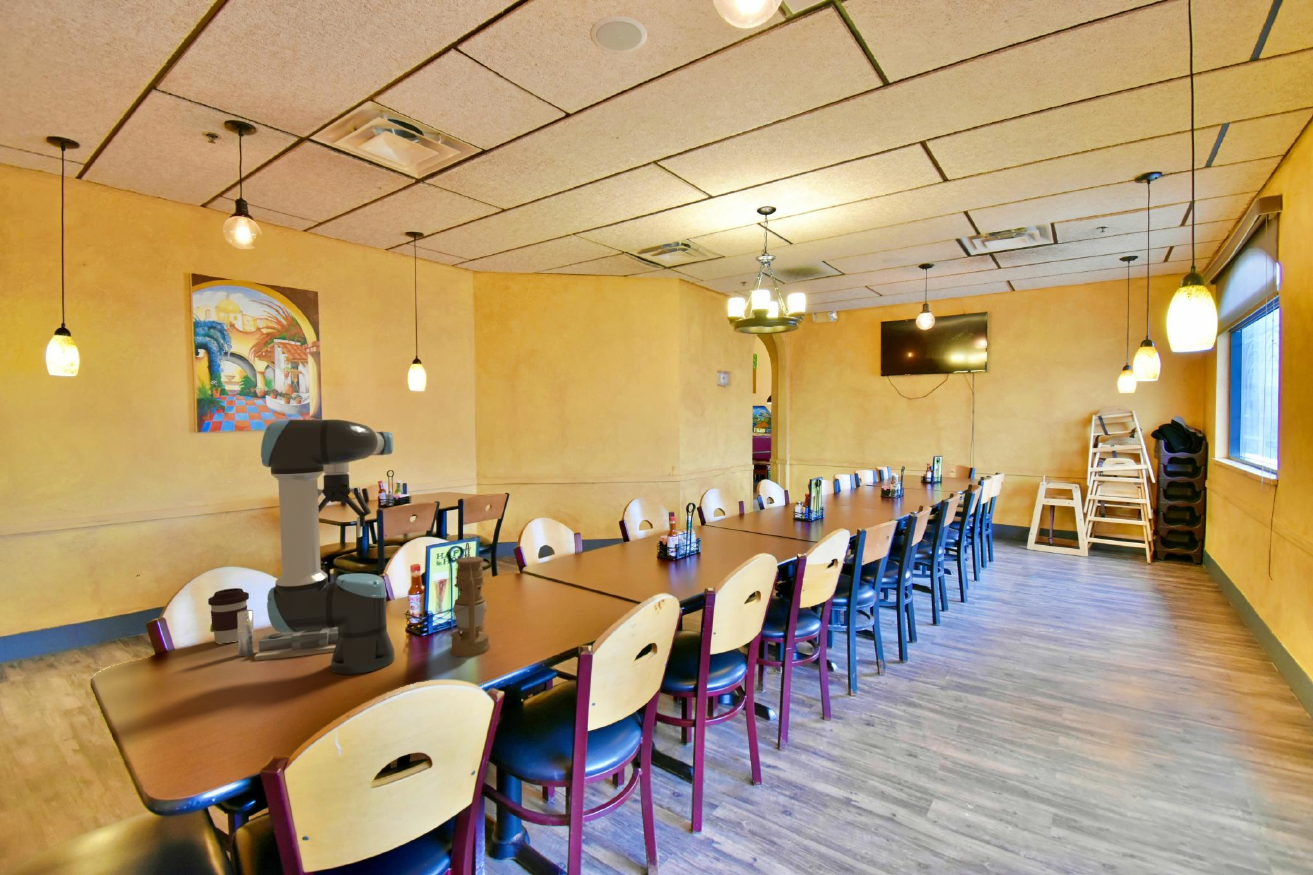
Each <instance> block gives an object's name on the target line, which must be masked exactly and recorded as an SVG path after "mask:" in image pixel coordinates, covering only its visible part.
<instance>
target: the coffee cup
mask: <svg viewBox="0 0 1313 875" xmlns="http://www.w3.org/2000/svg"><path fill="white" fill-rule="evenodd" d="M249 598H250V594H249V592H247V591H244V590H243V589H242V588H241V587H240V588H239V587H233V588H226V589H220V590H218V591H215V592H214V594H213V595H212V596H211V597H209V598H208V599H207V600H208V601H207V604H208V606H210V608H211V610H210V617H211V618H210V619H211V624H212V625H211V626H212V631H213V636H214V643H215V642H218V643H227V642H232V641H237V640H238V617H237V613H238V612H240V611H243V610H248V604H247V601H248V600H249Z"/></svg>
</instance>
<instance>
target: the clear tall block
mask: <svg viewBox="0 0 1313 875" xmlns="http://www.w3.org/2000/svg"><path fill="white" fill-rule="evenodd" d="M237 617H238V642H237V644H238V645H237V646H238V652H237V653H238V657H239V656H246V657H249V655H250V656H253V655H255V641H254V640H255V638H254V634H255V632H254V610H253V609H247V610H243V611H240V612H238V613H237ZM252 654H253V655H252Z"/></svg>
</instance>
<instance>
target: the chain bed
mask: <svg viewBox="0 0 1313 875" xmlns="http://www.w3.org/2000/svg"><path fill="white" fill-rule="evenodd" d="M337 640H338V628H327V629H318V630H309V631H300V632H297V633H294V632H288V633H280V632H277V633H273V634H267V635H266V634H265V635H264V636H263V637H261V638H260V639H259V640H258V652H257V653H256V654H254V662H255V661H266V660H275V659H282V658H292V657H301V656H309V655H310V656H311V655H320V654H327V653H334V650H335V647H336V643H337Z"/></svg>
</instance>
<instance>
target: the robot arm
mask: <svg viewBox="0 0 1313 875" xmlns="http://www.w3.org/2000/svg"><path fill="white" fill-rule="evenodd" d="M393 452H394V436H393V433H392V432H391V431H374V430H373V428H371V427H369V426H367V425H364V424H362V423H358V422H353V421H348V420H342V419H283V420H275V421H272V422H270V423H269V424H268V425H267V427H266V429H265V430H264V433H263V436H262V441H261V445H260V458H261V463H262V465H263V466H264V467H267V468H270V474H271V476H272V477H274V478H275V479H276V481H278V502H279V503H278V508H279V528H280V533H279V534H280V550H281V551H280V553H281V554H280V555H281V556H280V557H281V575H280V576H278V577H277V579H276V580H275V586H273V587H271V588H270V589H269V591H268V592H267V598H266V599H267V602H266V608H267V615H268V618H269V622H270V625H271V626H272V628H273V629H274V631H276V632H277V633H282V634H284V633H297V632H300V631H309V630H318V629H327V628H338V640H337V643H336V647H335V650H334V652H332V656H331V659H330V669H331V672H333V673H336V674H338V675H339V674H340V675H358V674H365V673H369V672H373V671H377V670H380V669H383V668H385V667H388V666H389V665H391V664H392V663H393V662H394V661H395V657H396V655H395V653H396V652H395V648H394V645H393V643H392V641H391V638H390V635H389V633H388V629H387V628H388V627H387V626H388V625H387V596H388V595H387V590H386V589H387V588H386V582H385V580H384V578H383V577H382V576H379V575H376V574H373V573H372V574H371V573H347V574H341V575H338V576H337V578H336V579H335V581H331V582H328V578H329V577H328V576H329V575H328V573H326V572H325V571H323V569H321V566H322V565H321V543H320V542H321V541H320V518H319V517H320V516H319V515H320V513H321V511H323V510H324V508H325V507H326V506H327V504H328V503H329V502H331V503H334V502H335V503H336V502H338V503H341V502H344V503H346V504H347V505H348V507H350V508H351V509H352V510H353V511H354V512H355V513H356V515H358V517H356V537H357V538H361V537H363V527H365V526H366V516H368V515H370V514H371V510H370V508H369V506H368V504H367V502H366V500H365V499H364V496H363V495H362V493H361V488H360V487H359V486H357V487H354V488H353V487H352V488H350V474H349V472H350V466H349V464H350V463H351V462H355V461H360V460H364V459H367V458H369V457H370V456H386V455H389V456H390V455H391V454H392V453H393ZM322 474H324V475H323V488H322V489H320V488H319V487H318V484H319V483H318V479H319V477H320V476H321V475H322ZM351 493H352V495H354V497H355V499H356V501H357V503H358V504H359V505H357V503H356V502H354V500H352V498H351V497H350V496H349V495H350V494H351ZM321 495H324V498H323V499H322V500H321V502H320V503H319V498H320V496H321ZM359 506H360V507H359Z"/></svg>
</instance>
